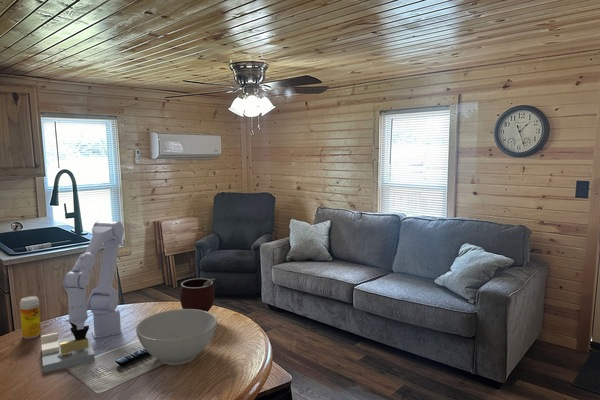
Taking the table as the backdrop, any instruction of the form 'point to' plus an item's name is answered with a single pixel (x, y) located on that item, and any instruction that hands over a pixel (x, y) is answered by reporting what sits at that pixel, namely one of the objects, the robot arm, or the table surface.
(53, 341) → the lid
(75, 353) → the grey flat rectangular board
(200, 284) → the mate gourd
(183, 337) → the decorative bowl
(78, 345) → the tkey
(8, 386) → the table surface
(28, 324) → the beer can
